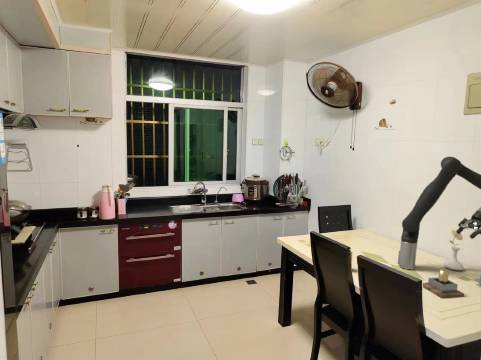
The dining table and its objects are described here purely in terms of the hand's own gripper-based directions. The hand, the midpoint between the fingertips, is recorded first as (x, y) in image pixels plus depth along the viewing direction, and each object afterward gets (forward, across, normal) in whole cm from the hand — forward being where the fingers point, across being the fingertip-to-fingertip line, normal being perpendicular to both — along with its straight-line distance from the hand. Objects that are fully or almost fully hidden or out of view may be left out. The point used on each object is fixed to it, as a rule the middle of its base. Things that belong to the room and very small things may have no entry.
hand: (464, 235), depth 180 cm
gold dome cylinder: (+31, +6, +8) cm, 32 cm away
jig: (+32, +6, +8) cm, 34 cm away
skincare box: (+59, -28, -18) cm, 68 cm away
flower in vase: (+8, -21, +33) cm, 40 cm away
